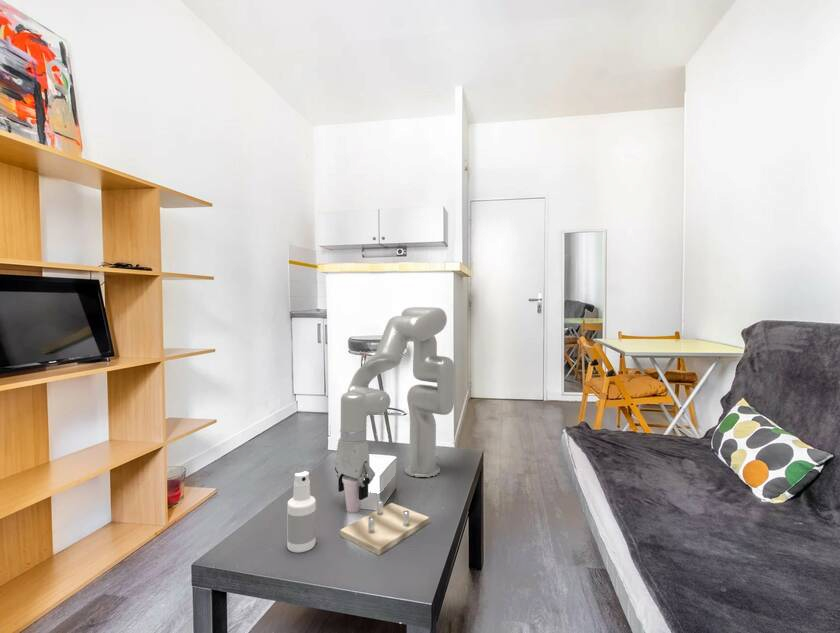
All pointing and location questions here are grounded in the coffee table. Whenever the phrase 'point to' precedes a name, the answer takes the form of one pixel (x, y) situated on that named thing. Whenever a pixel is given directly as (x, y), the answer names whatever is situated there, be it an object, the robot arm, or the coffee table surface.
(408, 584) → the coffee table surface
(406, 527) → the pin board
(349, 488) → the smoothie
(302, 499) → the spray bottle
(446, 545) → the coffee table surface
